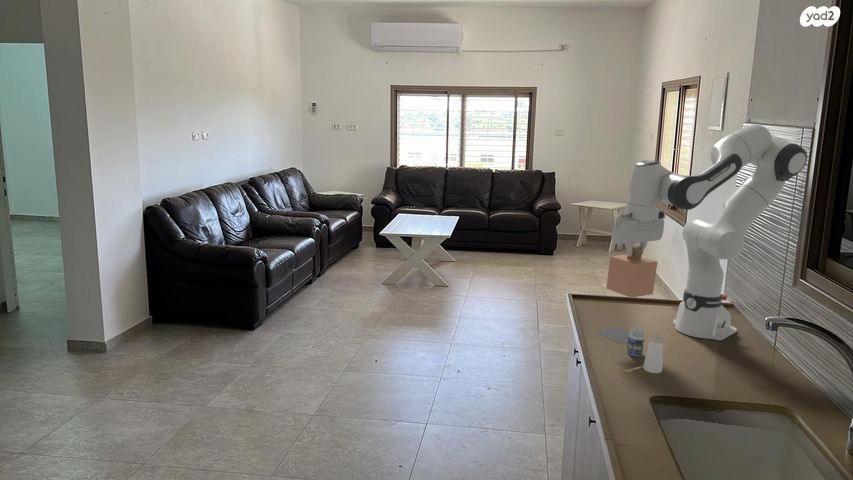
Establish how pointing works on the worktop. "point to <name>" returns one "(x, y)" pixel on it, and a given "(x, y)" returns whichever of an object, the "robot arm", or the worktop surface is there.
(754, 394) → the worktop surface
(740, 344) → the worktop surface
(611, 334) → the mat
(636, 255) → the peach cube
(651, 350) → the pepper shaker
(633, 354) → the pill bottle
